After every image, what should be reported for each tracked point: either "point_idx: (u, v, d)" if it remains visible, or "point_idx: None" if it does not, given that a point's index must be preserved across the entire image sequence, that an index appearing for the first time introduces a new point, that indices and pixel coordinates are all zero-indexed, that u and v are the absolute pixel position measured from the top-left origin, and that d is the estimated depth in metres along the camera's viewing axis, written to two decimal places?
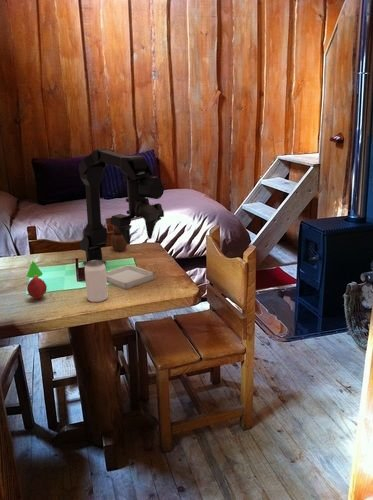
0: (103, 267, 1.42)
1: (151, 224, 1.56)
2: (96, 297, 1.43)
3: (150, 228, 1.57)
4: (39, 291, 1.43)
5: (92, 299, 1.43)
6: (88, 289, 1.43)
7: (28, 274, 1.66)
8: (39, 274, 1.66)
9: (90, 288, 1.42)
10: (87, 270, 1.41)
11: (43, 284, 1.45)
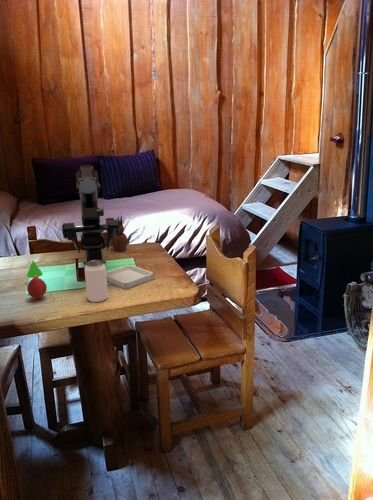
0: (103, 267, 1.42)
1: (107, 235, 1.52)
2: (96, 297, 1.43)
3: (107, 239, 1.51)
4: (39, 291, 1.43)
5: (92, 299, 1.43)
6: (88, 289, 1.43)
7: (28, 274, 1.66)
8: (39, 274, 1.66)
9: (90, 288, 1.42)
10: (87, 270, 1.41)
11: (43, 284, 1.45)
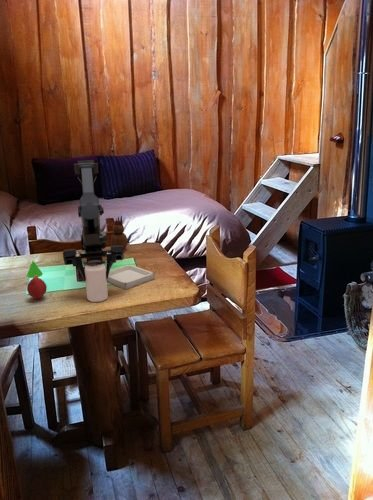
0: (103, 267, 1.42)
1: None
2: (96, 297, 1.43)
3: (106, 267, 1.45)
4: (39, 291, 1.43)
5: (92, 299, 1.43)
6: (88, 289, 1.43)
7: (28, 274, 1.66)
8: (39, 274, 1.66)
9: (90, 288, 1.42)
10: (87, 270, 1.41)
11: (43, 284, 1.45)
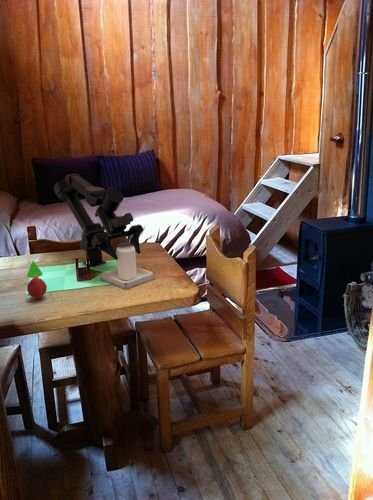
0: None
1: (134, 240, 1.62)
2: (131, 275, 1.58)
3: (135, 244, 1.62)
4: (39, 291, 1.43)
5: (127, 278, 1.58)
6: (123, 269, 1.57)
7: (28, 274, 1.66)
8: (39, 274, 1.66)
9: (125, 268, 1.57)
10: (122, 252, 1.55)
11: (43, 284, 1.45)
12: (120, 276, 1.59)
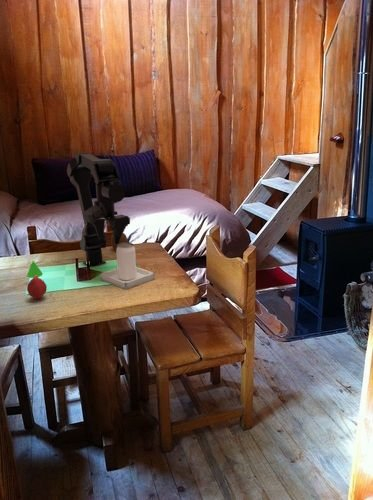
0: None
1: None
2: (131, 275, 1.58)
3: None
4: (39, 291, 1.43)
5: (127, 278, 1.58)
6: (123, 269, 1.57)
7: (28, 274, 1.66)
8: (39, 274, 1.66)
9: (125, 268, 1.57)
10: (122, 252, 1.55)
11: (43, 284, 1.45)
12: (120, 276, 1.59)
